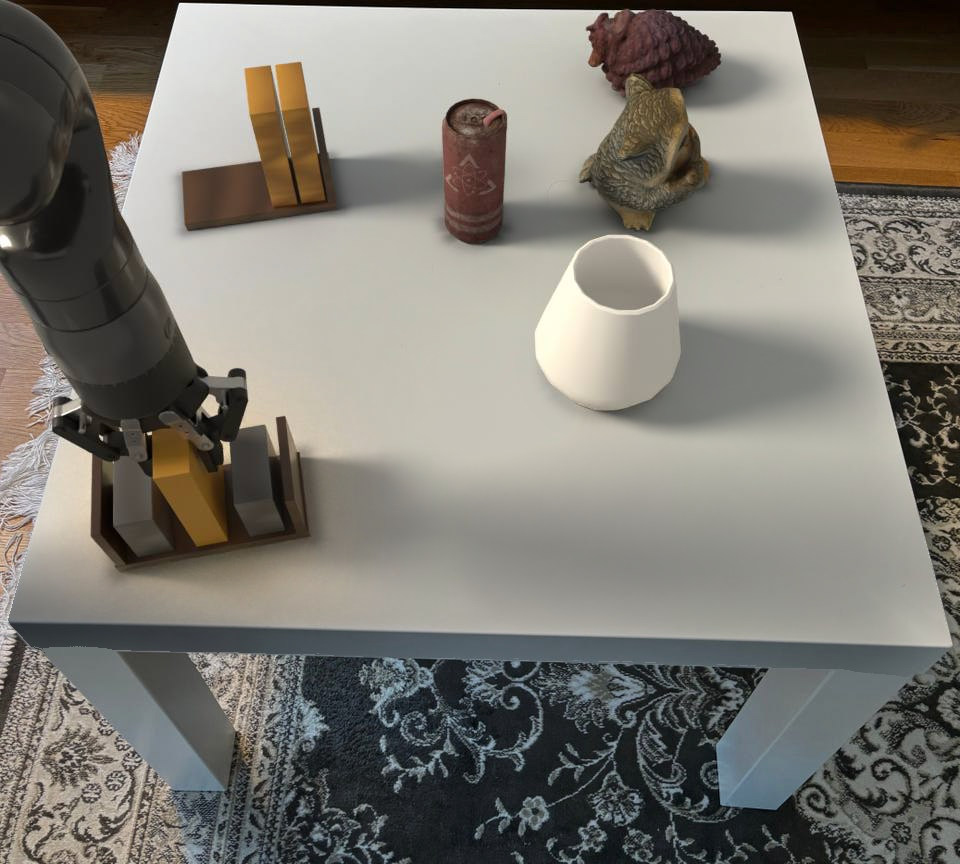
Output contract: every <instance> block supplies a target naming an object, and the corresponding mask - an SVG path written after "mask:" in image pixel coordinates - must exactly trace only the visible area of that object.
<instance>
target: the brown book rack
mask: <svg viewBox="0 0 960 864" xmlns="http://www.w3.org/2000/svg"><path fill="white" fill-rule="evenodd" d="M275 423H276V425H275V426H276V434H277V442H278V453H279V454H277V452H276V449H275V447H274V443H273V442H272V439H271V436H270V433H269V431H268V429H267V425H266V424H259V425H252V426H247V427H240V428H239V431H238V434H237V438H236V439H235V440H234V441H231V442H228V443H229V456H230V463H226V464H223V465H221V466H222V468H223V471H224V486H225V500H226V515H227V530H228V541H225V542H220V543H214V544H209V545H203V546H198V547H197V546H196V544H195V543H194V541H193V540H192V538H191V537H190V535H189V534H188V532H187V530H186V529H185V527H184V526H183V524H182V523H181V521H180V520H179V518H178V516H177V515H176V513H175V512H174V510H173V509H172V507H171V506H170V504H169V503H168V501H167V499H166V498H165V496H164V495H163V493H162V492H161V490H160V489H159V487H158V485H157V484H156V482H155V481H154V479H153V477H149V476H147V475H145V473H144V472H143V470H142V468H141V467H140V466H139V464H138V463H137V462H135V461H132V460H131V459H130V456H120V459H119V460H118V461H115V462H107V461H104V460H102V459H101V458H99V457H97V456H95V455H93V454H91V483H90V484H91V485H90V487H91V488H90V489H91V490H90V534H89V535H90V536H89V537H90V538H91V539H92V540H93V542H95V543H96V545H97V546H98V547H99V548H100V549H101V550H102V551H103V552H104V554H105V555H106V556H107V557H108V559H110V561H111V562H112V563H113V564H114V568H115V570H116V571H117V572H118V573H119V572H125V571H130V570H136V569H137V570H138V569H141V568H146V567H152V566H159V565H163V564H169V563H173V562H179V561H185V560H191V559H195V558H202V557H207V556H212V555H217V554H223V553H224V554H225V553H228V552H234V551H235V552H236V551H239V550H240V551H241V550H246V549H250V548H256V547H261V546H268V545H272V544H277V543H284V542H289V541H294V540H299V539H306V538H310V537H311V536H312V534H311V526H310V517H309V509H308V500H307V492H306V484H305V475H304V467H303V460H302V455H301V452H300V451H298V449H297V447H296V444H295V441H294V437H293V435H292V432H291V429H290V426H289V425H290V424H289V423H288V419H287V416H286V415H281V416H276V417H275Z"/></svg>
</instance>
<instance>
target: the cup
mask: <svg viewBox="0 0 960 864" xmlns="http://www.w3.org/2000/svg"><path fill="white" fill-rule="evenodd" d="M678 302H679V301H678V289H677V279H676V272H675V266H674V264H673V263H672V261H671V260H670V258H669V257H668V256H667V254H666V252H665V251H663V250H662V249H661V248H659V247H657V246H656V245H655V244H653V243H652V242H651V241H649V240H647V239H643V238H640V237H637V236H634V235H630V234H607V235H603V236H600V237H597V238H594V239H590V240H589V241H588V242H586V243H585V244H584V245H582V246H581V247H580V248H578V249H577V250H576V251H575V254H574V255H573V257H572V259H571V260H570V262H569V264H568V266H567V268H566V269H565V272H564V273H563V275H562V277H561V279H560V280H559V283H558V285H557V287H556V289H555V290H554V292H553V294H552V296H551V298H550V300H549V301H548V303H547V305H546V306H545V309H544V310H543V313H542V315H541V318H540V319H539V321H538V324H537V326H536V327H535V330H534V347H535V358H536V362H537V364H538V365H539V367H540V369H541V371H542V372H543V374H544V376H545V378H546V379H547V381H548V383H550V384H551V385H552V386H553V387H554V388H555V389H557V390H559V392H561V393H562V394H563V395H565V396H566V397H567V398H568V399H570V400H571V401H572V402H573V403H575V404H576V405H579V406H582V407H585V408H587V409H591V410H593V411H617V410H622V409H623V410H624V409H627V408H630V407H633V406H636V405H639V404H641V403H644V402H646V401H649V400H652V399H653V398H654V397H655V396H656V395H657V394H658V393H660V391H662V390H663V389H664V388H665V387H666V386H667V385H668V384H669V383H670V382H671V380H673V378H674V375H675V372H676V369H677V367H678V364H679V362H680V359H681V353H682V349H681V348H682V346H681V333H680V332H681V331H680V319H679V304H678Z"/></svg>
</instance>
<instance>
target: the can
mask: <svg viewBox="0 0 960 864" xmlns="http://www.w3.org/2000/svg"><path fill="white" fill-rule="evenodd" d="M507 131H508V113H507V112H506V110H504V109H502V108H500V107H499V106H498V105H497V104H495V103H493V102H492V101H490V100H487V99H483V98H466V99H462V100H460V101H457V102H455V103H453V104H452V105H451V106H450V107H449V108H448V109H447V111H446V112H445V116H444V118H443V119H442V124H441V141H442V142H441V143H442V145H441V146H442V169H443V170H442V171H443V172H442V173H443V175H442V176H443V177H442V178H443V202H444V203H443V205H444V207H443V208H444V224H445V228H446V229H447V231H448V232H449V233H450V235H451V236H452V237H454V238H455V239H457V240H458V241H460V242H463V243H465V244H473V245H475V244H476V245H477V244H482V243H483V244H484V243H485V242H488V241H490V240H491V239H493V238H494V237H495V236H496V235H498V233H499V232H500V230H501V229H502V227H503V220H504V200H505V199H504V198H505V178H506V177H505V176H506V175H505V174H506V156H507V155H506V152H507V133H508V132H507Z"/></svg>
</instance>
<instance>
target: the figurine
mask: <svg viewBox="0 0 960 864" xmlns="http://www.w3.org/2000/svg"><path fill="white" fill-rule="evenodd" d="M625 91H626V97H627V98H626V104H625V106H624V109H623V110H622V111H621V113H620V115H619V117H618V118H617V119H616V121H615V123H614V124H613V126H612V128H611V130H610V131H609V133H608V134H606V136H605V137H604V138H603V140H602V141H601V142H600V143H599V146H598V148H597V150H596V152H595V153H593V154H591V155H589V156H588V158H587V159H586V160H585V161H584V163H583V165H582V169H581V171H580V173H579V174H578V181H579V183H580V184H585V183H591V184H593V185H594V186H595V188H596V189H597V193H598V195H599V196H600V198H601V199H602V200H603V201H604V202H606V203H607V204H608V206H610V207H611V208H613V210H615V211H616V212H617V213H618V215H620V217H621V219H622V223H623V226H624V227H625V228H626V229H627V230H630V229H634V230H636V231H637V232H639V231H640V229H643V230H645V231H649V229H651V227H652V224H653V221H654V218H655V215H656V213H659V212H662V211H664V210H666V209H668V208H670V207H672V206H675V205H678V204H680V203H683V202H684V201H686V200H688V199H689V198H691V197H692V196H694V195H695V194H696V193H697V192H699V191H700V190H701V189H702V188H703V187H704V186H705V184H707V182H708V180H709V175H710V172H711V171H710V170H711V169H710V165H709V162H708V161H707V160H706V159H705V158H704V157H703V156H702V152H701V150H702V149H701V148H702V145H701V139H700V136H699V134H698V132H697V131H696V129H695V127H694V126H693V125H692V124H691V123H690V122H689V116H688V111H687V106H686V101H685V98H684V96H683V94H682V91H681V88H680V89H677V88H662V89H655V88H654V87H653V86H652V84H651V83H650V82H649V81H648V80H647V79H645V78H644V77H642V76H641V75H639V74H631V75H630V76H629V77H628V79H627V81H626V86H625Z"/></svg>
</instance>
